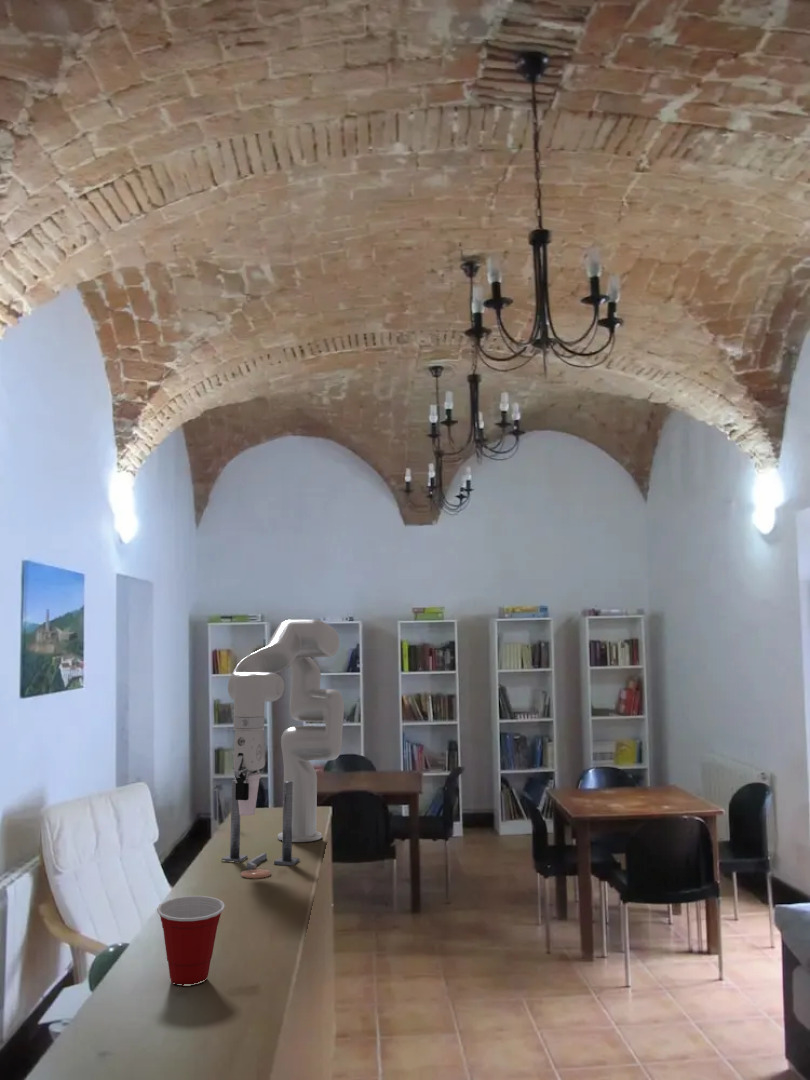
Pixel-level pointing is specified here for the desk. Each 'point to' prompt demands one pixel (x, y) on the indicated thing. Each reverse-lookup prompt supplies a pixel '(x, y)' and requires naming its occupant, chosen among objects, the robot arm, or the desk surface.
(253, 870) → the coaster
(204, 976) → the plastic cup
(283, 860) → the post
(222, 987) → the desk surface
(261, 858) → the bent rail
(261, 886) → the desk surface
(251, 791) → the smoothie
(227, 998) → the desk surface
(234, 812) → the post
